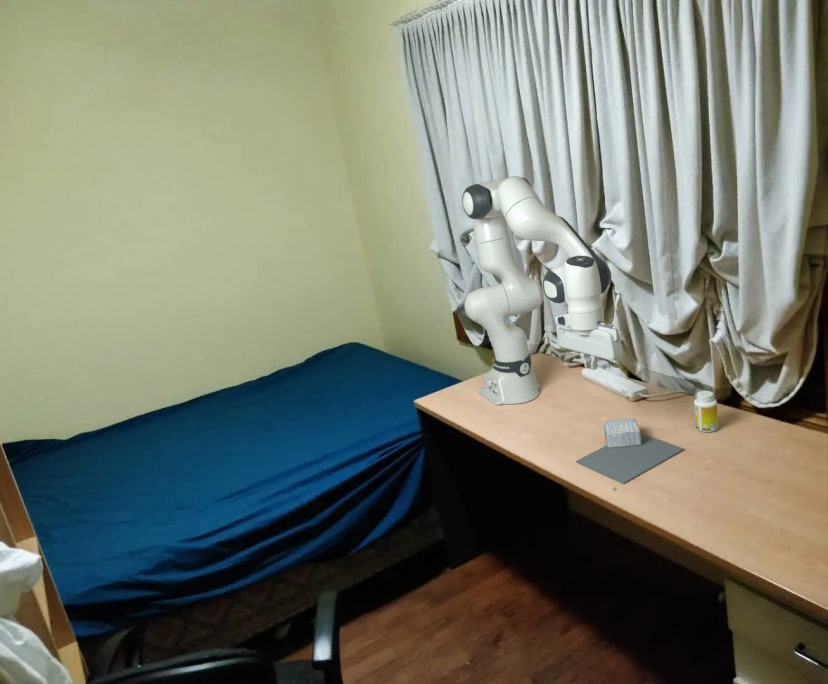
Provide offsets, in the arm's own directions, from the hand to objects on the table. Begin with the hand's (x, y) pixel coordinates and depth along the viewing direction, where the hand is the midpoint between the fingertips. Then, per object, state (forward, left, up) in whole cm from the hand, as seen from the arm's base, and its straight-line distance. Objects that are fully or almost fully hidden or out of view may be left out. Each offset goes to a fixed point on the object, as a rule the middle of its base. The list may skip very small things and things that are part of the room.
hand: (591, 368), depth 168 cm
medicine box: (+2, 0, -19) cm, 19 cm away
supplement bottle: (+17, +22, -22) cm, 35 cm away
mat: (+12, -2, -21) cm, 25 cm away
